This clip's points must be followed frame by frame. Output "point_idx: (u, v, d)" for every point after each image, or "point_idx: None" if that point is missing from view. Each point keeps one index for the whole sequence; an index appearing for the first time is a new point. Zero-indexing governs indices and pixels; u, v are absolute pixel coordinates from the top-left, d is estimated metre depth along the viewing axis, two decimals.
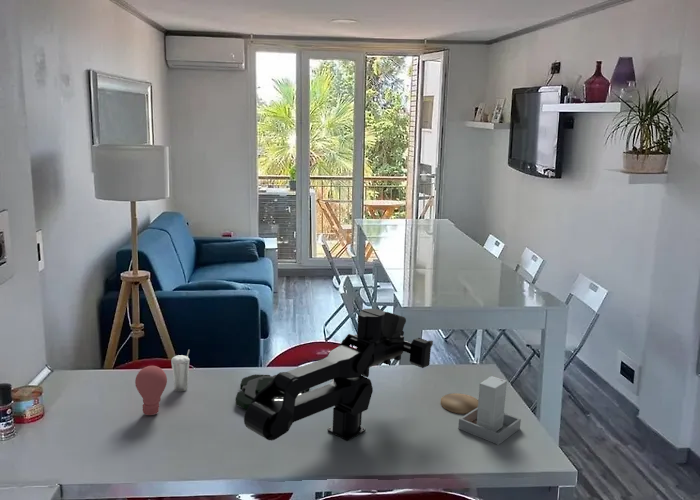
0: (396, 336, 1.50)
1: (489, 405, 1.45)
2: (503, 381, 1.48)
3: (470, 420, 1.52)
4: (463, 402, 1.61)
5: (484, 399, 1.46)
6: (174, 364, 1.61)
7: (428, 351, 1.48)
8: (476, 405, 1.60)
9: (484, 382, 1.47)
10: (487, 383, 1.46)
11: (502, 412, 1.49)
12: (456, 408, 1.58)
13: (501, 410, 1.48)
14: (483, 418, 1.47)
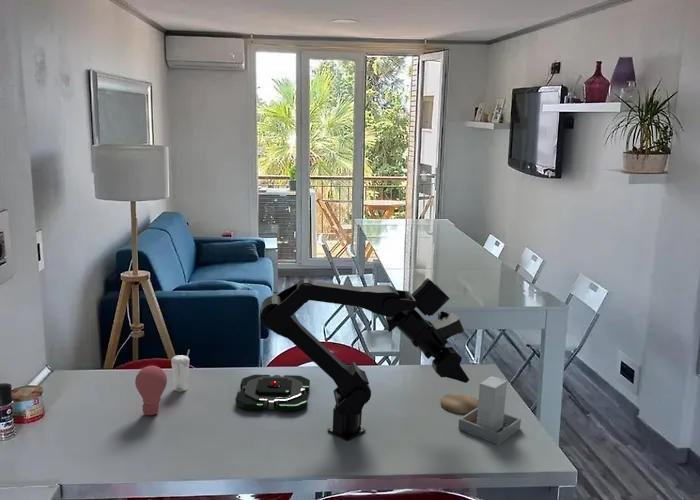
0: (441, 332, 1.41)
1: (489, 405, 1.45)
2: (503, 381, 1.48)
3: (470, 420, 1.52)
4: (463, 402, 1.61)
5: (484, 399, 1.46)
6: (174, 364, 1.61)
7: (453, 363, 1.35)
8: (476, 405, 1.60)
9: (484, 382, 1.47)
10: (487, 383, 1.46)
11: (502, 412, 1.49)
12: (456, 408, 1.58)
13: (501, 410, 1.48)
14: (483, 418, 1.47)
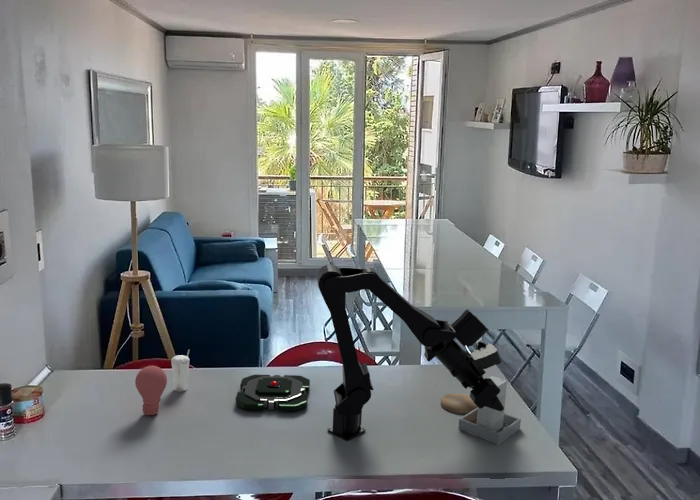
0: (480, 363, 1.43)
1: None
2: (503, 381, 1.48)
3: (470, 420, 1.52)
4: (463, 402, 1.61)
5: None
6: (174, 364, 1.61)
7: (492, 395, 1.37)
8: None
9: None
10: None
11: (502, 412, 1.49)
12: (456, 408, 1.58)
13: None
14: (483, 418, 1.47)
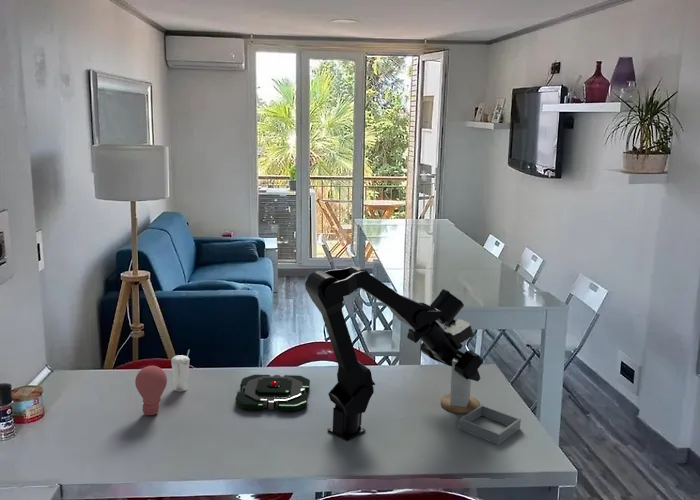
0: (457, 338, 1.53)
1: (463, 379, 1.57)
2: None
3: (470, 420, 1.52)
4: None
5: (458, 374, 1.57)
6: (174, 364, 1.61)
7: (477, 365, 1.49)
8: (476, 405, 1.60)
9: None
10: None
11: (470, 384, 1.61)
12: (456, 408, 1.58)
13: (469, 382, 1.60)
14: (457, 393, 1.58)
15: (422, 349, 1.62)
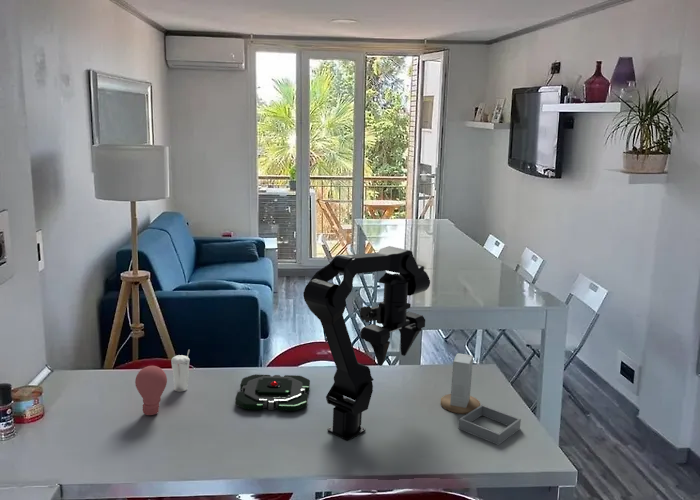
0: None
1: (463, 380, 1.57)
2: (470, 356, 1.60)
3: (470, 420, 1.52)
4: None
5: (458, 375, 1.57)
6: (174, 364, 1.61)
7: None
8: (476, 405, 1.60)
9: (456, 359, 1.57)
10: (459, 360, 1.57)
11: (470, 385, 1.61)
12: (456, 408, 1.58)
13: (470, 383, 1.60)
14: (457, 393, 1.58)
15: (382, 333, 1.45)
